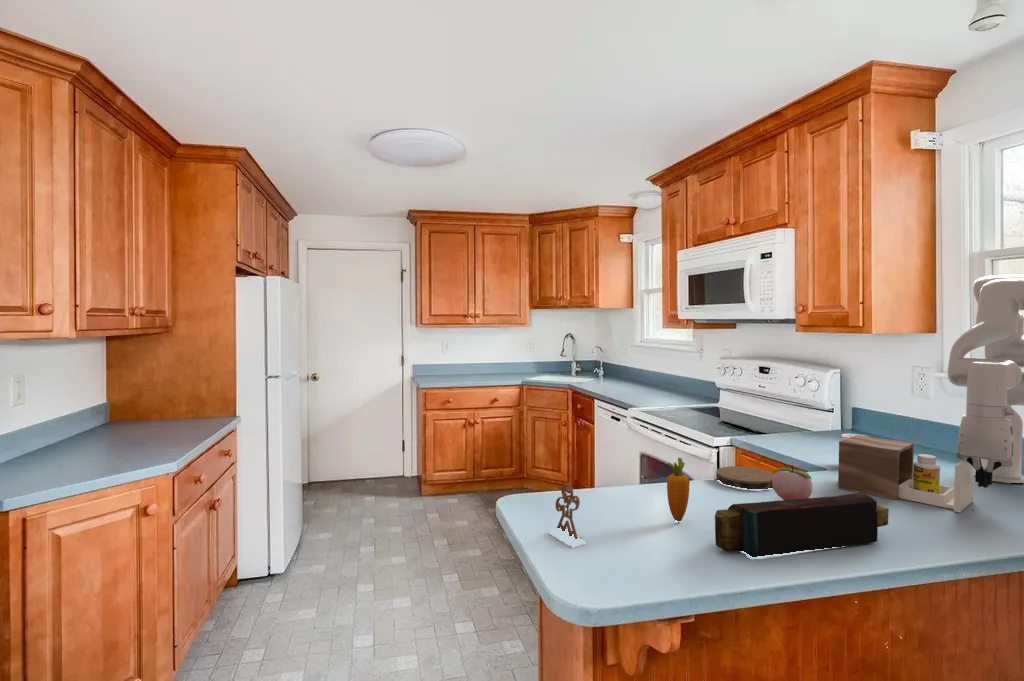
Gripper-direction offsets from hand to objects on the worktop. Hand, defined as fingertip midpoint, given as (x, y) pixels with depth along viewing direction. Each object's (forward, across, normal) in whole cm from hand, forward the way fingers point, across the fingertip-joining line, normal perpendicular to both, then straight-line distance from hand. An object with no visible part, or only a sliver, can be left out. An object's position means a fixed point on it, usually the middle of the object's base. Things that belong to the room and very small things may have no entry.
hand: (983, 486), depth 137 cm
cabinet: (+6, +23, 0) cm, 24 cm away
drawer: (+6, +10, 0) cm, 11 cm away
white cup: (+6, +35, -21) cm, 41 cm away
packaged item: (+6, +21, +55) cm, 59 cm away
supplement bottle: (+5, +12, 0) cm, 13 cm away
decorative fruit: (+6, +32, +31) cm, 45 cm away
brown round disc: (+7, +49, +22) cm, 54 cm away
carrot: (+6, +44, +65) cm, 78 cm away
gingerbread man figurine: (+6, +54, +91) cm, 106 cm away
